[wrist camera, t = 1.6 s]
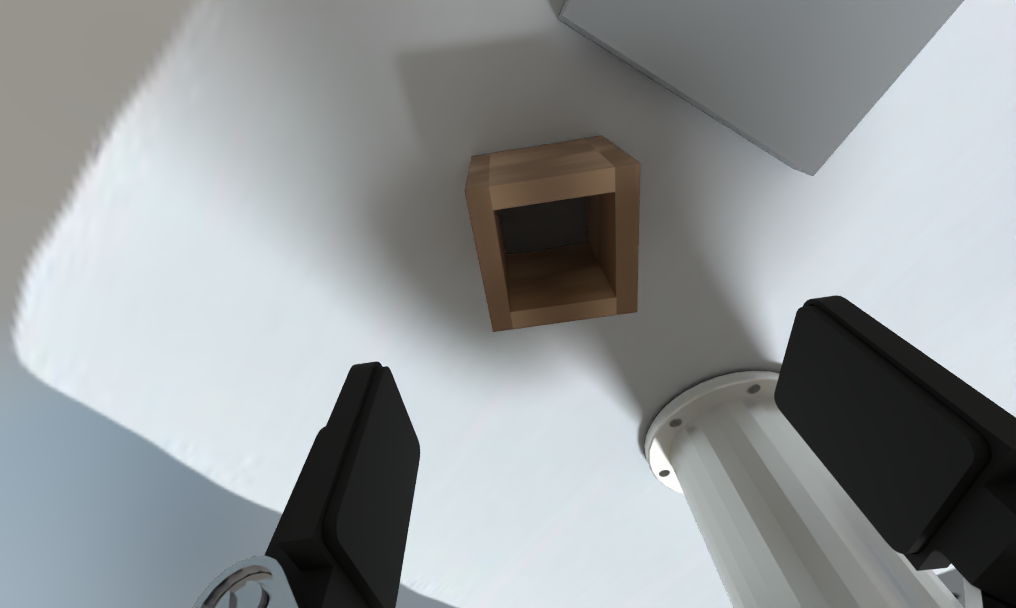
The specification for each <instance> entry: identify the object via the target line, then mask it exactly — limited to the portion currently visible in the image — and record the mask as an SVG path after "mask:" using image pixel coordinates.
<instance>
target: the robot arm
mask: <svg viewBox="0 0 1016 608" xmlns="http://www.w3.org/2000/svg"><path fill="white" fill-rule="evenodd" d="M644 447H645V455H646V458H647V461H648V464H649V466H650V469H651V471H652V473H653V474H654V476H655V477H656V478H657V479H658V480H659V481H660V482H661V483H662V484H663V485H665V486H667V487H668V488H670V489H672V490H674V491H677V492H680V493H683V494H684V495H685V498H686V500H687V502H688V505H689V507H690V509H691V512H692V514H693V516H694V518H695V521H696V523H697V525H698V528H699V530H700V532H701V534H702V537H703V539H704V541H705V544H706V546H707V548H708V551H709V553H710V555H711V557H712V560H713V562H714V564H715V567H716V569H717V571H718V573H719V576H720V578H721V580H722V583H723V585H724V587H725V590H726V592H727V594H728V596H729V599H730V601H731V603H732V606H733V608H964V607H963V606H962V605H961V604H960V603H959V602H958V600H957V599H956V598H955V597H954V596H953V594H952V593H951V592H950V591H949V590H948V589H947V587H946V586H945V585H944V584H943V583H942V582H941V580H940V579H939V578H938V577H937V576H936V575H935V573H934V572H933V571H932V570H931V569H939V568H947V567H948V566H949V565H950V564H951V563H952V564H953V566H954V567H955V568H956V569H957V570H958V571H959V572H960V573H961V574H962V575H963V583H964V593H965V603H966V608H1016V418H1015V417H1014V416H1013V415H1011V414H1010V413H1008V412H1007V411H1005V410H1004V409H1003V408H1001V407H1000V406H998V405H997V404H995V403H994V402H993V401H991V400H990V399H988V398H987V397H985V396H984V395H983V394H981V393H980V392H978V391H977V390H975V389H974V388H973V387H971V386H970V385H968V384H967V383H965V382H964V381H963V380H961V379H960V378H958V377H957V376H955V375H954V374H953V373H951V372H950V371H948V370H947V369H945V368H944V367H943V366H941V365H940V364H938V363H937V362H935V361H934V360H933V359H931V358H930V357H928V356H927V355H925V354H924V353H923V352H921V351H920V350H918V349H917V348H915V347H914V346H913V345H911V344H910V343H908V342H907V341H905V340H904V339H902V338H901V337H900V336H898V335H897V334H895V333H894V332H892V331H891V330H890V329H888V328H887V327H885V326H884V325H882V324H881V323H880V322H878V321H877V320H875V319H874V318H872V317H871V316H870V315H868V314H867V313H865V312H864V311H862V310H861V309H860V308H858V307H857V306H855V305H854V304H852V303H851V302H850V301H848V300H847V299H845V298H843V297H841V296H829V297H822V298H815V299H810V300H807V301H806V302H805V303H804V305H803V307H801V308H799V309H798V311H797V313H796V316H795V320H794V324H793V327H792V331H791V334H790V338H789V342H788V345H787V349H786V352H785V356H784V360H783V363H782V367H781V370H780V373H775V372H771V371H746V372H736V373H731V374H727V375H723V376H719V377H716V378H713V379H710V380H708V381H705V382H702V383H700V384H698V385H696V386H694V387H692V388H690V389H688V390H687V391H685V392H683V393H682V394H680V395H679V396H678V397H676V398H675V399H674V400H672V401H671V402H670V403H669V404H668V405H667V406H666V407H665V408H664V409H663V410H662V411H661V412H660V413H659V414H658V415H657V417H656V418H655V419H654V421H653V422H652V424H651V426H650V428H649V430H648V433H647V435H646V440H645V446H644ZM419 460H420V445H419V441H418V438H417V436H416V433H415V431H414V428H413V426H412V423H411V421H410V418H409V416H408V413H407V411H406V408H405V406H404V403H403V400H402V398H401V395H400V393H399V390H398V388H397V385H396V383H395V380H394V378H393V375H392V373H391V370H390V368H389V367H387V366H386V367H382V365H381V364H380V363H379V362H370V363H363V364H356V365H353V366H352V367H351V369H350V371H349V373H348V376H347V378H346V380H345V383H344V385H343V387H342V390H341V392H340V394H339V397H338V399H337V402H336V404H335V406H334V409H333V411H332V413H331V416H330V418H329V420H328V423H327V425H326V427H323V428H322V429H321V430H320V431H319V433H318V435H317V436H316V439H315V441H314V443H313V445H312V448H311V450H310V452H309V455H308V457H307V459H306V462H305V464H304V466H303V468H302V471H301V473H300V475H299V478H298V480H297V482H296V484H295V487H294V489H293V491H292V494H291V496H290V498H289V500H288V503H287V505H286V507H285V510H284V512H283V514H282V516H281V519H280V521H279V523H278V526H277V528H276V530H275V532H274V535H273V537H272V539H271V542H270V544H269V546H268V549H267V551H266V553H265V556H253V557H250V558H247V559H244V560H241V561H239V562H238V563H236V564H234V565H232V566H231V567H229V568H228V569H226V570H225V571H224V572H222V573H221V574H220V575H219V576H218V577H217V578H215V579H214V580H213V581H212V582H211V583H210V584H209V585H208V587H207V588H206V589H205V590H204V591H203V592H202V594H201V595H200V596H199V597H198V599H197V601H196V602H195V604H194V606H193V607H192V608H395V606H396V601H397V595H398V589H399V583H400V577H401V570H402V564H403V558H404V552H405V546H406V540H407V534H408V527H409V521H410V515H411V509H412V503H413V497H414V490H415V484H416V478H417V472H418V466H419Z"/></svg>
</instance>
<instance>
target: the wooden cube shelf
mask: <svg viewBox="0 0 1016 608" xmlns="http://www.w3.org/2000/svg"><path fill="white" fill-rule="evenodd" d="M465 194H466V199H467V204H468V209H469V214H470V219H471V224H472V229H473V234H474V239H475V244H476V249H477V254H478V259H479V264H480V269H481V274H482V279H483V284H484V289H485V293H486V298H487V303H488V308H489V313H490V318H491V323H492V328H493V332H496V331H504V330H511V329H518V328H525V327H532V326H540V325H547V324H554V323H561V322H569V321H576V320H583V319H590V318H598V317H605V316H612V315H619V314H626V313H634V312H637V293H638V245H639V196H640V163H639V162H638V161H637V160H635V159H634V158H632V157H631V156H630V155H628V154H627V153H625V152H624V151H623V150H621V149H620V148H619V147H617V146H616V145H614V144H613V143H612V142H610V141H609V140H608V139H606V138H605V137H603V136H596V137H590V138H584V139H578V140H571V141H565V142H559V143H553V144H546V145H540V146H534V147H528V148H521V149H515V150H509V151H503V152H496V153H490V154H484V155H478V156H472V159H471V163H470V168H469V173H468V177H467V182H466V187H465ZM584 196H586V200H587V221H588V242H589V243H585V244H578V245H572V246H565V247H558V248H551V249H544V250H538V251H531V252H524V253H517V254H511V255H506V249H505V243H504V237H503V231H502V224H501V218H500V212H499V209H506V208H512V207H519V206H525V205H532V204H538V203H545V202H551V201H558V200H565V199H571V198H578V197H584Z"/></svg>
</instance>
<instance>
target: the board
mask: <svg viewBox="0 0 1016 608" xmlns="http://www.w3.org/2000/svg"><path fill="white" fill-rule="evenodd" d="M963 1H964V0H566V1H565V4H564V6H563V8H562V10H561V12H560V14H559V17H558V20H560V21H562V22H563V23H565V24H566V25H568V26H569V27H571V28H573V29H574V30H576V31H577V32H579V33H580V34H582V35H584V36H585V37H587V38H588V39H590V40H592V41H593V42H595V43H596V44H598V45H599V46H601V47H603V48H604V49H606V50H607V51H609V52H610V53H612V54H614V55H615V56H617V57H618V58H620V59H621V60H623V61H625V62H626V63H628V64H629V65H631V66H632V67H634V68H636V69H637V70H639V71H640V72H642V73H643V74H645V75H647V76H648V77H650V78H651V79H653V80H654V81H656V82H658V83H659V84H661V85H662V86H664V87H666V88H667V89H669V90H670V91H672V92H673V93H675V94H677V95H678V96H680V97H681V98H683V99H684V100H686V101H688V102H689V103H691V104H692V105H694V106H695V107H697V108H699V109H700V110H702V111H703V112H705V113H706V114H708V115H710V116H711V117H713V118H714V119H716V120H717V121H719V122H721V123H722V124H724V125H725V126H727V127H728V128H730V129H732V130H733V131H735V132H736V133H738V134H740V135H741V136H743V137H744V138H746V139H747V140H749V141H751V142H752V143H754V144H755V145H757V146H758V147H760V148H762V149H763V150H765V151H766V152H768V153H769V154H771V155H773V156H774V157H776V158H777V159H779V160H780V161H782V162H784V163H785V164H787V165H788V166H790V167H791V168H793V169H795V170H798V171H801V172H803V173H806V174H809V175H811V176H814V175H815V174H816V172H817V171H818V170H819V169H820V168H821V167H822V165H823V164H824V163H825V162H826V161H827V160H828V158H829V157H830V156H831V155H832V154H833V153H834V151H835V150H836V149H837V148H838V147H839V146H840V144H841V143H842V142H843V141H844V140H845V139H846V137H847V136H848V135H849V134H850V133H851V132H852V130H853V129H854V128H855V127H856V126H857V125H858V123H859V122H860V121H861V120H862V119H863V118H864V117H865V115H866V114H867V113H868V112H869V111H870V110H871V108H872V107H873V106H874V105H875V104H876V103H877V101H878V100H879V99H880V98H881V97H882V96H883V94H884V93H885V92H886V91H887V90H888V89H889V87H890V86H891V85H892V84H893V83H894V82H895V80H896V79H897V78H898V77H899V76H900V75H901V73H902V72H903V71H904V70H905V69H906V68H907V66H908V65H909V64H910V63H911V62H912V61H913V59H914V58H915V57H916V56H917V55H918V54H919V52H920V51H921V50H922V49H923V48H924V47H925V45H926V44H927V43H928V42H929V41H930V40H931V38H932V37H933V36H934V35H935V34H936V33H937V31H938V30H939V29H940V28H941V27H942V26H943V25H944V23H945V22H946V21H947V20H948V19H949V18H950V16H951V15H952V14H953V13H954V12H955V11H956V9H957V8H958V7H959V6H960V5H961V4H962V2H963Z"/></svg>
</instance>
